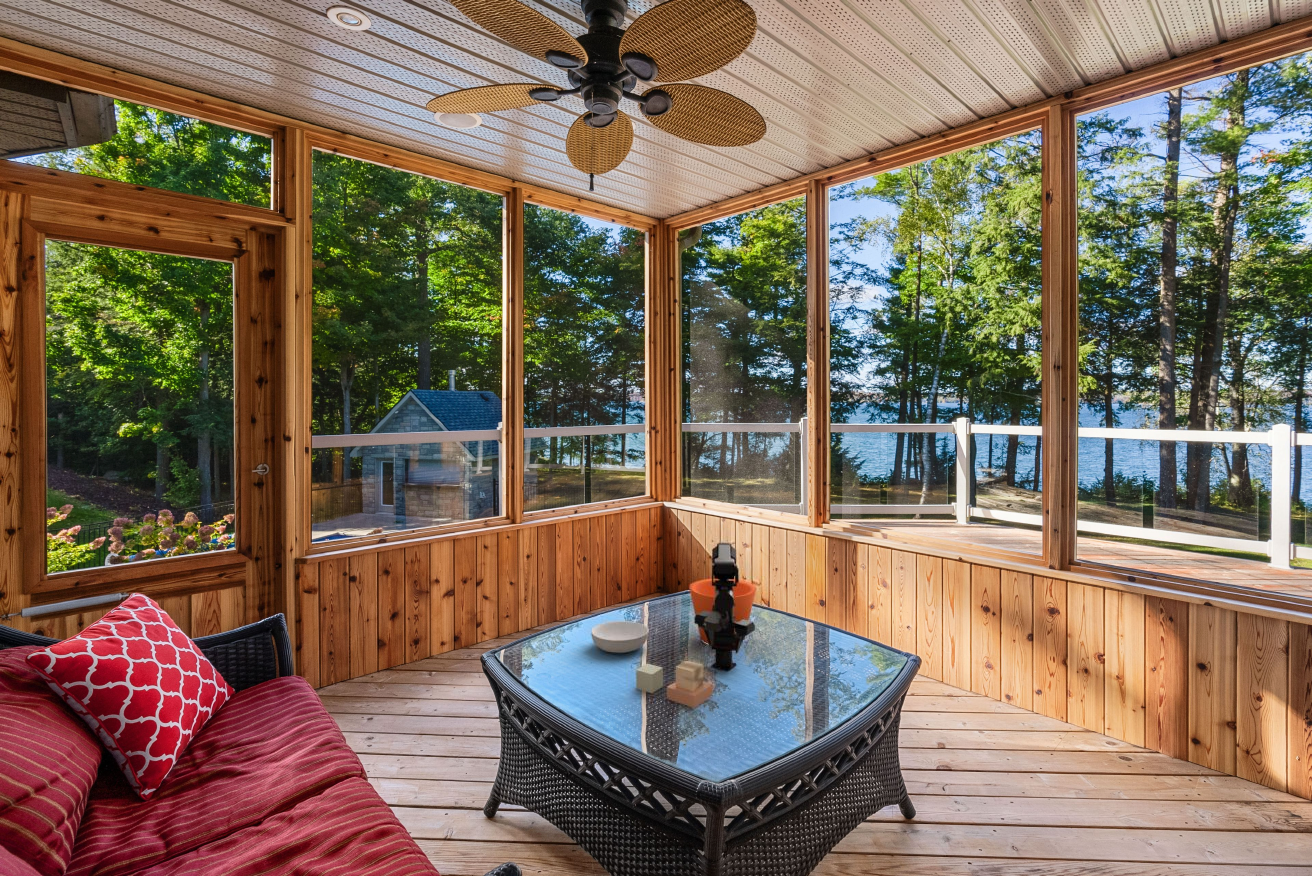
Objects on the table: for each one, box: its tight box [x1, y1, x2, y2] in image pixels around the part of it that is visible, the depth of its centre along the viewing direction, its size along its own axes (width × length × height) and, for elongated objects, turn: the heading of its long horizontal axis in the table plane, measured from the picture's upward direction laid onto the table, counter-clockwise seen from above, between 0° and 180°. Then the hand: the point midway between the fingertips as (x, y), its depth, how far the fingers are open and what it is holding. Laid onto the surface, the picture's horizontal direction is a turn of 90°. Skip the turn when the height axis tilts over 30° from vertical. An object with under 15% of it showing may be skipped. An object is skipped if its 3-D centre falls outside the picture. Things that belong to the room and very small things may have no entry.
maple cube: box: [675, 660, 704, 691], centre depth 195 cm, size 6×6×6 cm
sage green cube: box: [635, 663, 664, 694], centre depth 202 cm, size 6×6×6 cm
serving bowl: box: [590, 620, 650, 654], centre depth 235 cm, size 21×21×7 cm
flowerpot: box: [688, 578, 757, 644], centre depth 243 cm, size 25×25×20 cm
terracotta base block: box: [666, 680, 714, 709], centre depth 196 cm, size 10×10×4 cm
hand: (723, 649), depth 203 cm, fingers open, 9 cm apart
